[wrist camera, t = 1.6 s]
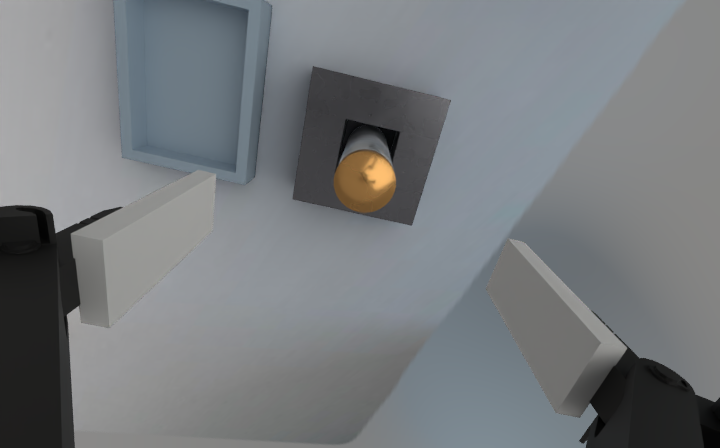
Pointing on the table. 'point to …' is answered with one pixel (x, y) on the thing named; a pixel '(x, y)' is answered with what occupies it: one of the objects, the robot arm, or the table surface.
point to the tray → (192, 83)
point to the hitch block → (375, 107)
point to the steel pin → (365, 171)
